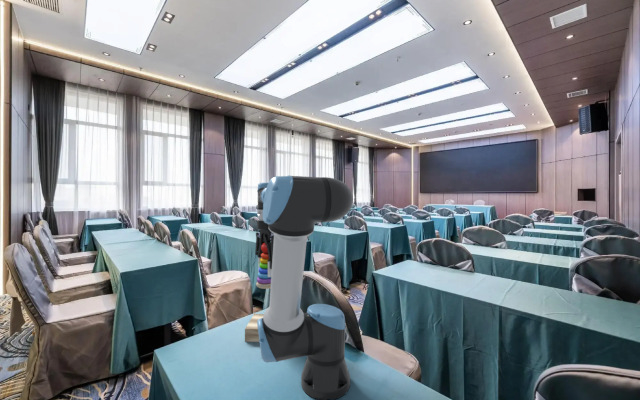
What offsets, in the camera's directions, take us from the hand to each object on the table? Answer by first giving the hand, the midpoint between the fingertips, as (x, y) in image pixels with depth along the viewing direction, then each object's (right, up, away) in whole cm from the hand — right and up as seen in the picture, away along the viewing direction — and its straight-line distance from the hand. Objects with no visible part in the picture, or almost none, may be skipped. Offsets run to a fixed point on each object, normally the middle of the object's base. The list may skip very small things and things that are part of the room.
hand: (266, 274), depth 115 cm
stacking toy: (0, -5, 0) cm, 5 cm away
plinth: (0, -25, +1) cm, 25 cm away
